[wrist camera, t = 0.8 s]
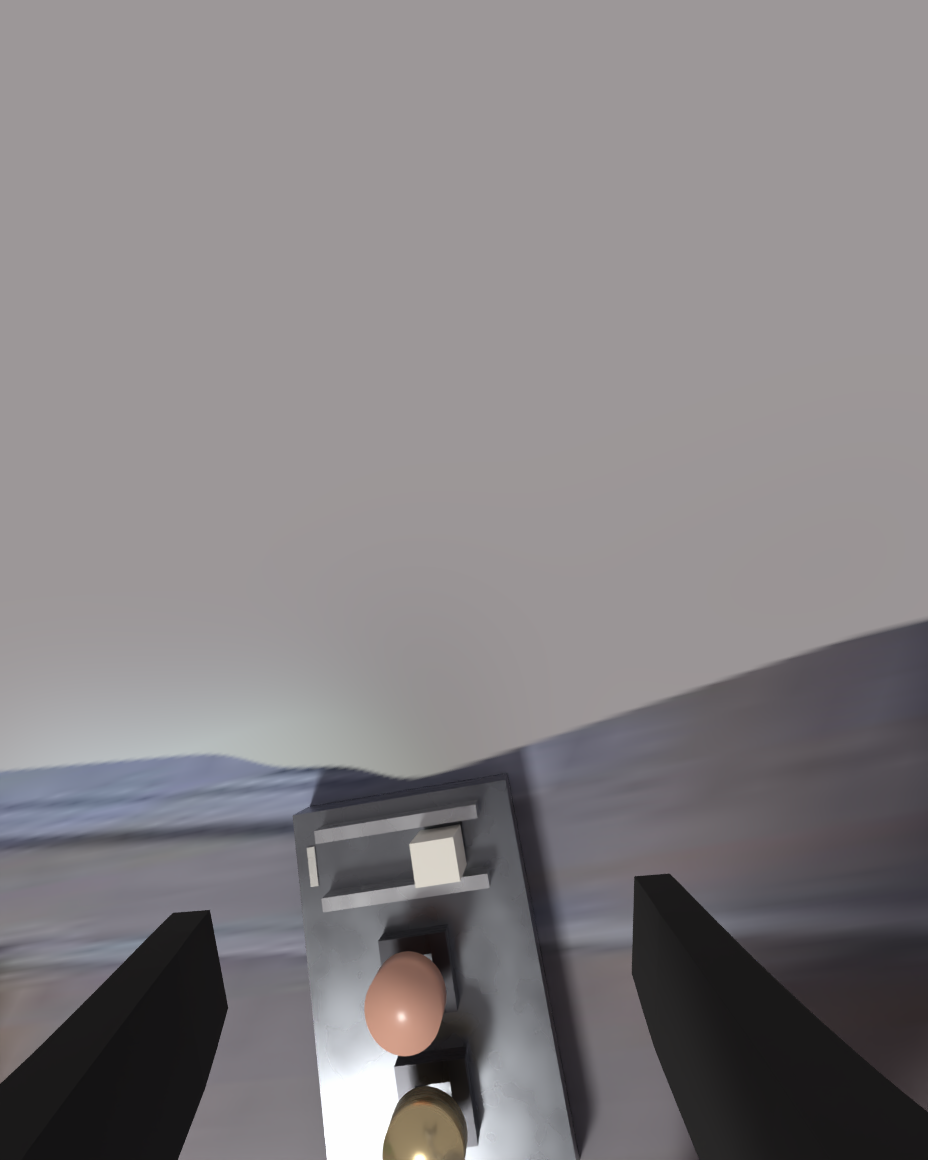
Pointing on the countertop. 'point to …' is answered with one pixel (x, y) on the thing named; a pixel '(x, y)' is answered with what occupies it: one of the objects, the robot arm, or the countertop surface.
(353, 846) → the panel
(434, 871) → the slider knob
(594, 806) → the countertop surface
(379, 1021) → the terracotta button
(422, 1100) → the brass button
